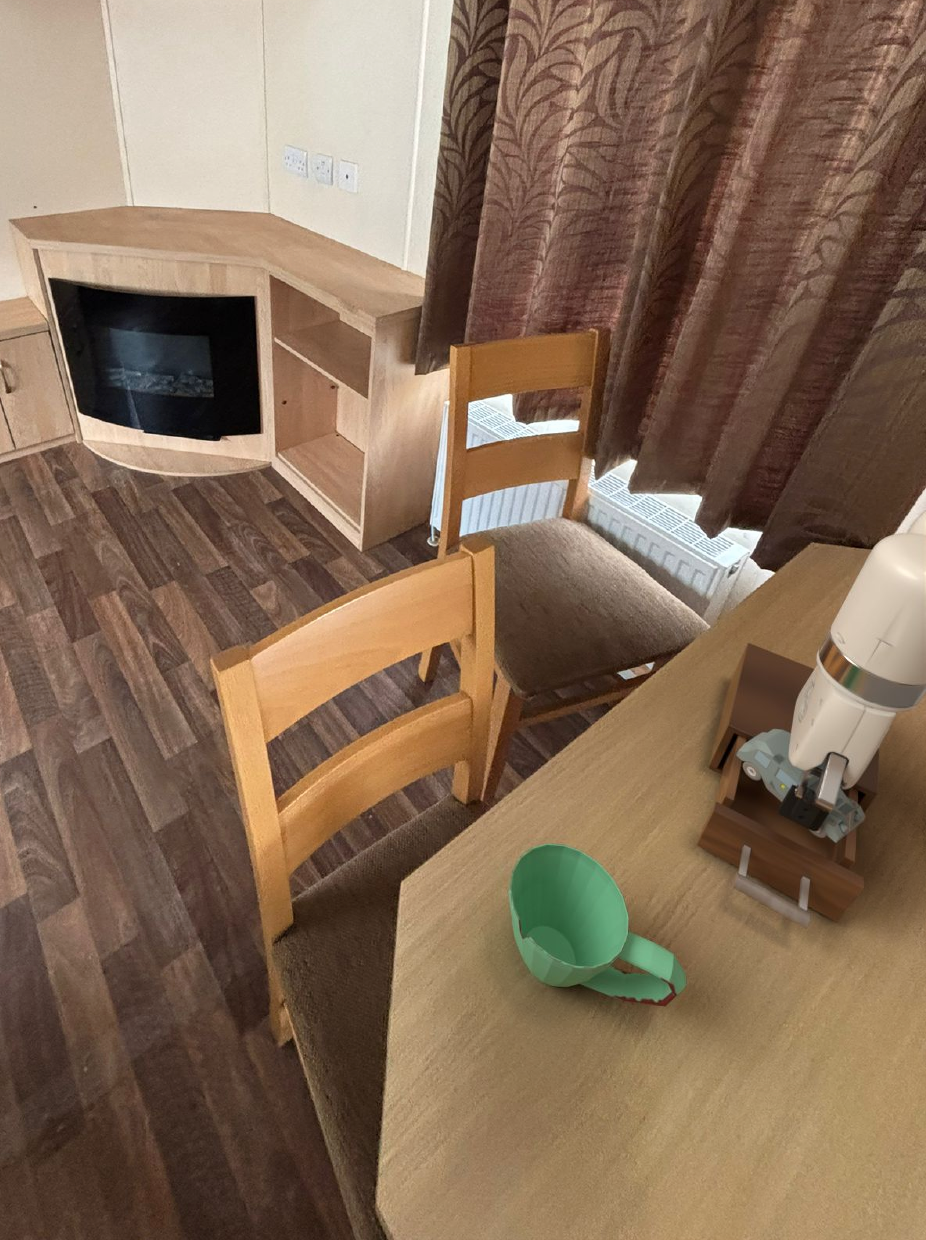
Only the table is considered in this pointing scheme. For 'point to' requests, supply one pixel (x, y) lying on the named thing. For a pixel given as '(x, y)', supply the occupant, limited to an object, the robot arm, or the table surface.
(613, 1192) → the table surface
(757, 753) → the toy car
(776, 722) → the cabinet
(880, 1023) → the table surface
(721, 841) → the drawer
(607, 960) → the mug
